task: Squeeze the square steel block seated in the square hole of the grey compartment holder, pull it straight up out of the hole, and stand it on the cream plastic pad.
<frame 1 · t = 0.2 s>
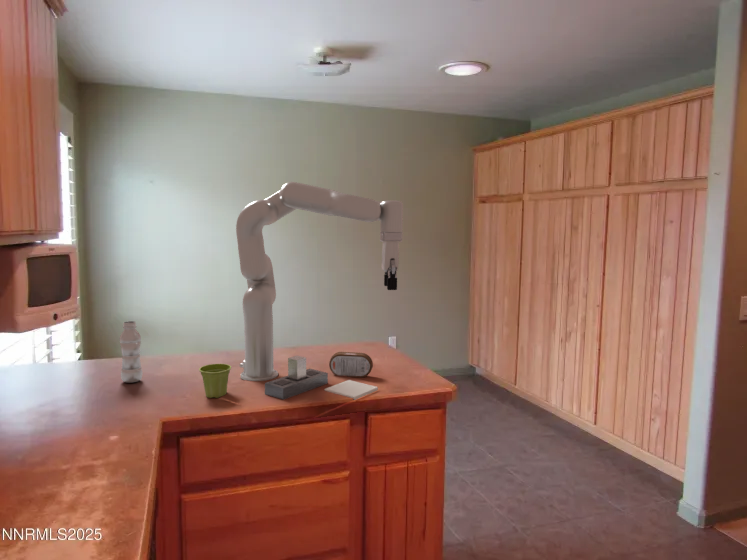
hand: (390, 287, 183), 31 cm above the worktop, tool pointing down, fingers open, 9 cm apart
pad: (351, 391, 170), on the worktop
steel block: (297, 388, 170), resting on grey compartment holder
plant pot: (216, 395, 165), on the worktop
tin: (350, 377, 186), on the worktop
plastic bottle: (132, 382, 176), on the worktop
grey compartment holder: (297, 390, 170), on the worktop
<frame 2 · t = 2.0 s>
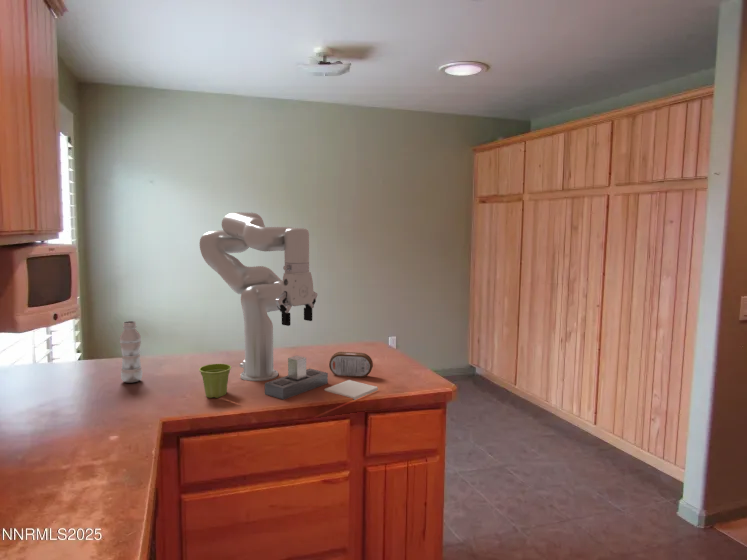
hand: (297, 322, 168), 22 cm above the worktop, tool pointing down, fingers open, 9 cm apart
nothing on the worktop moved.
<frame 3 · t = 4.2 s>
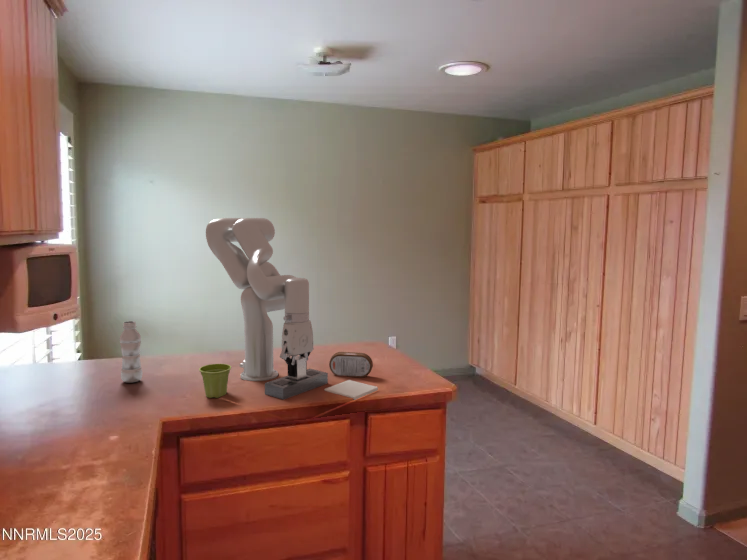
hand: (297, 373, 170), 5 cm above the worktop, tool pointing down, fingers closed on steel block, 4 cm apart
steel block: (297, 388, 170), point 1 cm above the worktop, touching gripper, grey compartment holder
everything else where it was.
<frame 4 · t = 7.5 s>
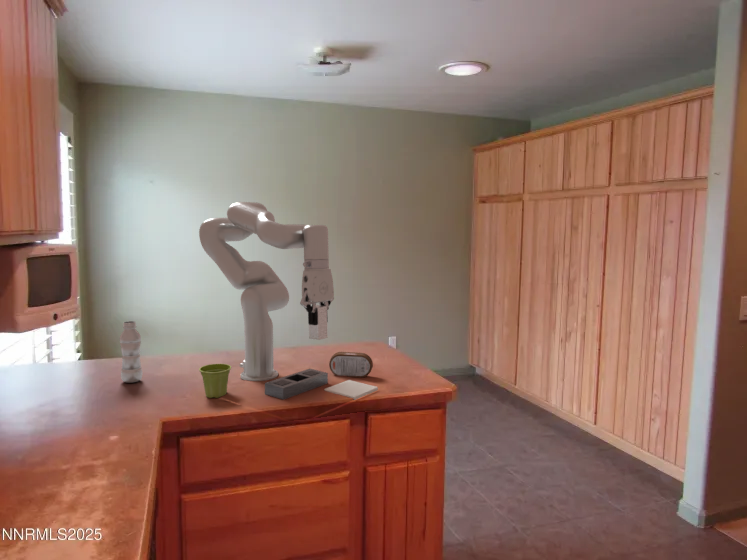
hand: (318, 322, 167), 22 cm above the worktop, tool pointing down, fingers closed on steel block, 4 cm apart
steel block: (318, 338, 168), point 17 cm above the worktop, touching gripper
everything else where it was.
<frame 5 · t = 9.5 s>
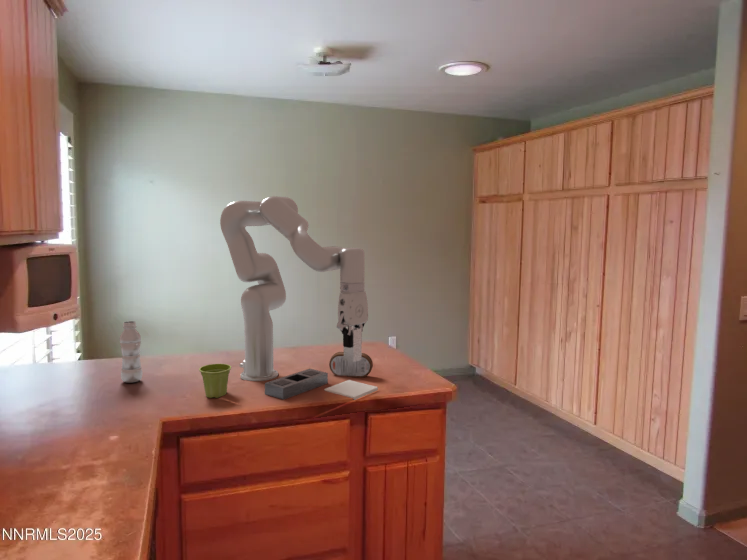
hand: (352, 345, 168), 15 cm above the worktop, tool pointing down, fingers closed on steel block, 4 cm apart
steel block: (352, 359, 169), point 10 cm above the worktop, touching gripper
everything else where it was.
when the fingers open (7 cm above the worktop, at t = 11.2 s): steel block drops 1 cm, resting on pad.
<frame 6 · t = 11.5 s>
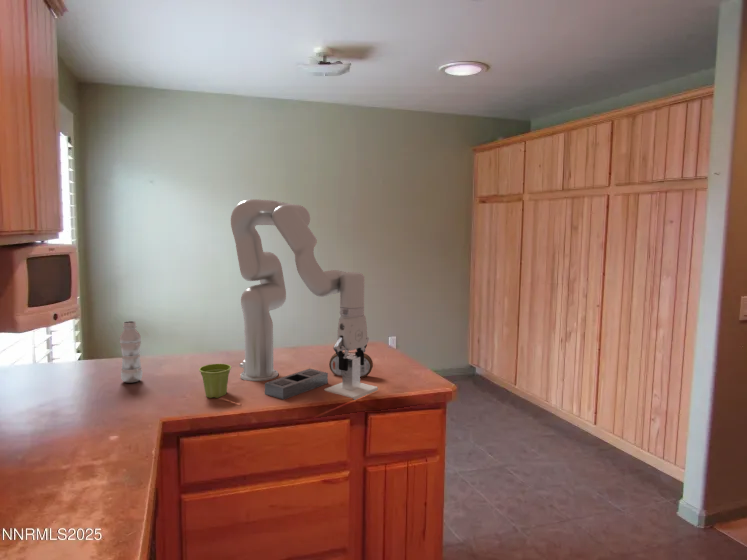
hand: (351, 366, 169), 8 cm above the worktop, tool pointing down, fingers open, 7 cm apart
steel block: (351, 387, 170), point 1 cm above the worktop, touching pad
everything else where it was.
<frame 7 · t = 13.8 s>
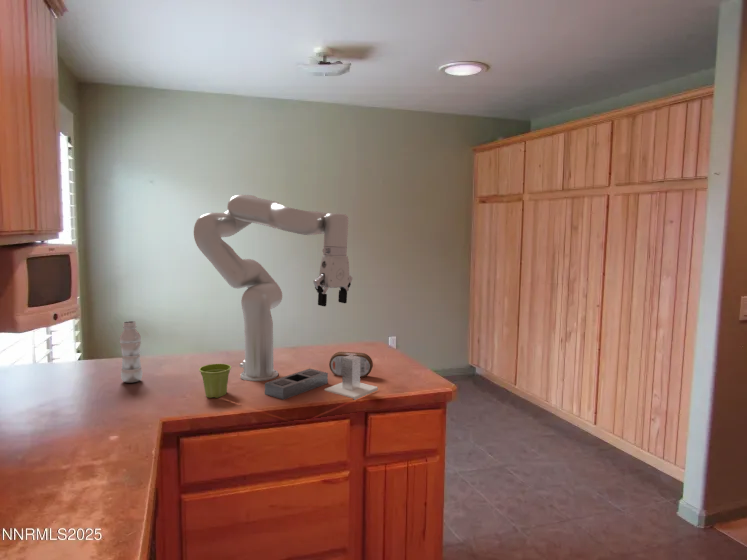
hand: (332, 304, 175), 26 cm above the worktop, tool pointing down, fingers open, 9 cm apart
nothing on the worktop moved.
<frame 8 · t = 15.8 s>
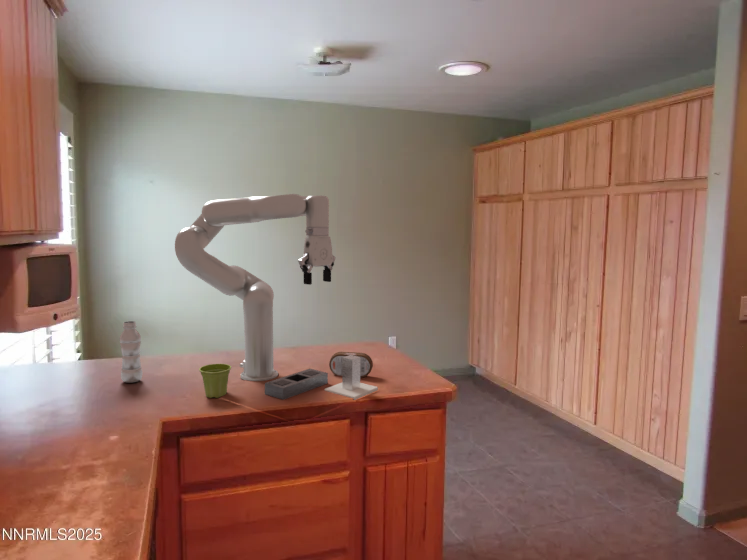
hand: (317, 282, 183), 32 cm above the worktop, tool pointing down, fingers open, 9 cm apart
nothing on the worktop moved.
at the end: steel block inside the target area on the pad (0.1 cm from its centre), point 1.0 cm above the pad's base; steel block tilted 0°; the gripper is holding nothing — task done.
